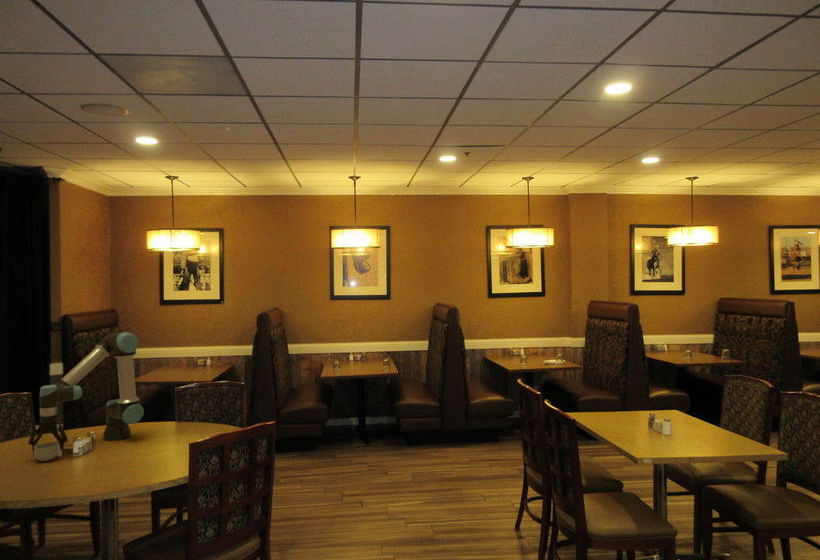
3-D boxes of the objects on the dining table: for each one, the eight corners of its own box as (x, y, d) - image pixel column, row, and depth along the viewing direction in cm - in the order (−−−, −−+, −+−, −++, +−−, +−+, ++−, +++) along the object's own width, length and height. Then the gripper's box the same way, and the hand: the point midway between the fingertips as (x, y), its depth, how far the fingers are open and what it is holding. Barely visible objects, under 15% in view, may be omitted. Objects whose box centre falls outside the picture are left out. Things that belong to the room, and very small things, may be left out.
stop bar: (79, 452, 296) (79, 446, 296) (77, 454, 293) (77, 448, 294) (35, 454, 292) (35, 448, 293) (32, 456, 290) (32, 450, 290)
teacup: (46, 463, 276) (46, 447, 276) (29, 462, 278) (29, 446, 279) (68, 454, 290) (68, 439, 290) (51, 453, 292) (51, 439, 292)
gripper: (20, 417, 279) (19, 460, 278) (68, 415, 283) (68, 457, 282) (27, 414, 286) (27, 455, 286) (75, 412, 290) (75, 453, 290)
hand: (48, 456), depth 284 cm, fingers closed on teacup, 11 cm apart
